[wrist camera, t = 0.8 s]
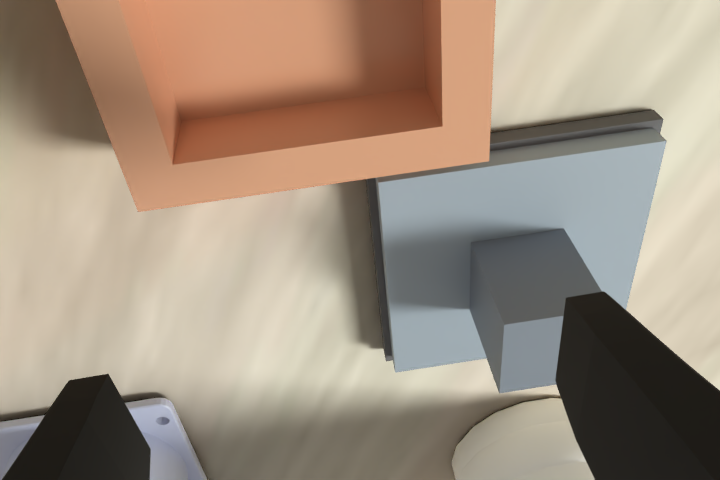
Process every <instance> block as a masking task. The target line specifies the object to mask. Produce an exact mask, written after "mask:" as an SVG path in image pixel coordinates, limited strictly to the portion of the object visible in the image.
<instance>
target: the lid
mask: <svg viewBox="0 0 720 480" xmlns="http://www.w3.org/2000/svg"><path fill="white" fill-rule="evenodd" d="M665 145H666V140H665V139H664V138H663V137H662V136H661V135H660V134H659V133H658V132H657V131H656V130H655V129H654V128H648V129H641V130H634V131H627V132H620V133H613V134H606V135H599V136H592V137H585V138H578V139H571V140H564V141H557V142H550V143H544V144H537V145H530V146H523V147H516V148H509V149H502V150H495V151H490V153H489V161H487V162H481V163H474V164H467V165H460V166H453V167H446V168H439V169H432V170H425V171H418V172H411V173H404V174H397V175H391V176H384V177H377V178H375V179H376V189H377V200H378V211H379V221H380V232H381V243H382V253H383V264H384V275H385V285H386V296H387V307H388V317H389V328H390V339H391V349H392V358H393V363H394V368H395V372H401V371H408V370H414V369H421V368H427V367H434V366H440V365H447V364H453V363H459V362H466V361H472V360H479V359H485V358H487V360H488V363H489V366H490V368H491V371H492V374H493V377H494V380H495V382H496V385H497V388H498V391H499V393H504V392H511V391H517V390H524V389H530V388H536V387H543V386H549V385H555V384H556V381H555V379H556V371H557V363H558V355H559V347H560V340H561V332H562V324H563V316H564V308H565V300H566V298H567V297H573V296H579V295H585V294H591V293H597V292H602V291H604V292H606V293H607V294H608V295H610V296H611V297H612V298H613V299H614V300H615V301H616V302H617V303H619V304H620V305H621V306H622V307H623V308H624V309H625V310H626V307H627V303H628V299H629V294H630V290H631V286H632V282H633V278H634V274H635V270H636V265H637V261H638V257H639V253H640V249H641V245H642V240H643V236H644V232H645V228H646V224H647V220H648V216H649V211H650V207H651V203H652V199H653V195H654V191H655V187H656V182H657V178H658V174H659V170H660V166H661V162H662V158H663V153H664V149H665Z"/></svg>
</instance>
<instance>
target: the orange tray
mask: <svg viewBox="0 0 720 480" xmlns="http://www.w3.org/2000/svg"><path fill="white" fill-rule="evenodd" d="M56 3H57V5H58V8H59V10H60V13H61V16H62V18H63V21H64V23H65V26H66V28H67V31H68V33H69V36H70V39H71V41H72V44H73V46H74V49H75V51H76V54H77V57H78V59H79V62H80V64H81V67H82V69H83V72H84V74H85V77H86V80H87V82H88V85H89V87H90V90H91V92H92V95H93V97H94V100H95V103H96V105H97V108H98V110H99V113H100V115H101V118H102V120H103V123H104V126H105V128H106V131H107V133H108V136H109V138H110V141H111V143H112V146H113V149H114V151H115V154H116V156H117V159H118V161H119V164H120V167H121V169H122V172H123V174H124V177H125V179H126V182H127V184H128V187H129V190H130V192H131V195H132V197H133V200H134V202H135V205H136V207H137V210H138V212H141V211H148V210H155V209H162V208H169V207H176V206H183V205H190V204H197V203H204V202H211V201H218V200H224V199H231V198H238V197H245V196H252V195H259V194H266V193H273V192H280V191H287V190H294V189H301V188H308V187H314V186H321V185H328V184H335V183H342V182H349V181H356V180H363V179H370V178H377V177H384V176H391V175H397V174H404V173H411V172H418V171H425V170H432V169H439V168H446V167H453V166H460V165H467V164H474V163H481V162H487V161H489V153H490V128H491V104H492V79H493V54H494V30H495V5H496V0H56Z"/></svg>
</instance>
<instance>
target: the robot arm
mask: <svg viewBox="0 0 720 480" xmlns="http://www.w3.org/2000/svg"><path fill="white" fill-rule="evenodd" d="M555 381H556V384H557V387H558V390H559V393H560V396H561V399H562V402H563V405H564V408H565V411H566V414H567V416H568V419H569V422H570V425H571V428H572V430H573V433H574V436H575V439H576V441H577V443H578V445H579V447H580V450H581V452H582V454H583V456H584V458H585V460H586V462H587V464H588V466H589V468H590V470H591V472H592V475H593V477H594V479H595V480H720V391H719V390H718V389H717V388H716V387H715V386H713V385H712V384H711V383H710V382H708V381H707V380H706V379H705V378H704V377H702V376H701V375H700V374H699V373H697V372H696V371H695V370H694V369H693V368H692V367H690V366H689V365H688V364H687V363H686V362H684V361H683V360H682V359H681V358H680V357H679V356H677V355H676V354H675V353H674V352H673V351H672V350H671V349H669V348H668V347H667V346H666V345H665V344H664V343H663V342H661V341H660V340H659V339H658V338H657V337H656V336H655V335H653V334H652V333H651V332H650V331H649V330H648V329H647V328H645V327H644V326H643V325H642V324H641V323H640V322H639V321H638V320H637V319H635V318H634V317H633V316H632V315H631V314H630V313H629V312H628V311H626V310H625V309H624V308H623V307H622V306H621V305H620V304H619V303H617V302H616V301H615V300H614V299H613V298H612V297H611V296H610V295H608V294H607V293H606V292H604V291H602V292H597V293H591V294H585V295H579V296H573V297H567V298H566V300H565V308H564V316H563V324H562V332H561V340H560V347H559V355H558V363H557V371H556V379H555ZM0 480H207V478H206V476H205V473H204V471H203V469H202V467H201V465H200V462H199V460H198V458H197V456H196V454H195V451H194V449H193V447H192V445H191V443H190V440H189V438H188V436H187V434H186V432H185V430H184V427H183V425H182V423H181V421H180V419H179V416H178V414H177V412H176V410H175V408H174V405H173V404H172V402H171V401H170V400H168V399H165V398H152V399H146V400H139V401H133V402H126V403H124V401H123V399H122V397H121V396H120V394H119V392H118V390H117V388H116V387H115V385H114V383H113V381H112V380H111V378H110V376H109V374H105V375H99V376H93V377H87V378H81V379H75V380H69V381H68V383H67V384H66V385H65V387H64V388H63V390H62V391H61V393H60V394H59V395H58V397H57V398H56V400H55V401H54V403H53V404H52V406H51V407H50V409H49V410H48V412H47V413H46V415H42V416H36V417H29V418H23V419H16V420H10V421H3V422H0Z"/></svg>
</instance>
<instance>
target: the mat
mask: <svg viewBox="0 0 720 480" xmlns="http://www.w3.org/2000/svg"><path fill="white" fill-rule="evenodd" d="M662 123H663V118H662V117H661V116H660V115H659V114H658V113H656V112H655V111H654V110H649V111H642V112H635V113H628V114H621V115H614V116H607V117H600V118H593V119H586V120H579V121H572V122H565V123H558V124H551V125H544V126H537V127H530V128H523V129H516V130H509V131H502V132H495V133H490V151H495V150H502V149H509V148H516V147H523V146H530V145H537V144H544V143H550V142H557V141H564V140H571V139H578V138H585V137H592V136H599V135H606V134H613V133H620V132H627V131H634V130H641V129H648V128H654V129H655V130H656V131H657V132H658V133H659V134H660V131H661V127H662ZM366 185H367V195H368V204H369V214H370V223H371V233H372V242H373V252H374V261H375V271H376V280H377V290H378V299H379V309H380V318H381V328H382V337H383V347H384V353H385V358H386V361H391V360H393V358H392V349H391V339H390V328H389V317H388V307H387V296H386V285H385V275H384V264H383V253H382V243H381V232H380V221H379V211H378V200H377V189H376V179H375V178H370V179H366Z"/></svg>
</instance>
